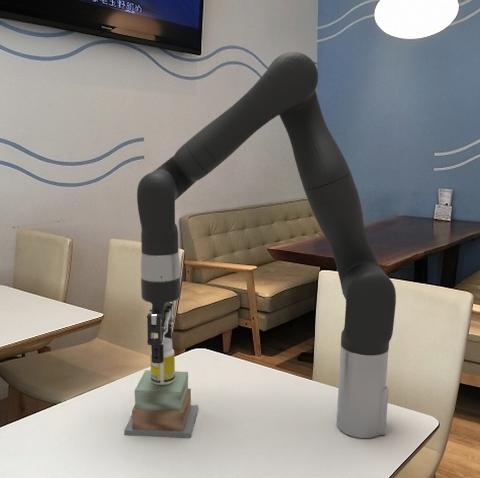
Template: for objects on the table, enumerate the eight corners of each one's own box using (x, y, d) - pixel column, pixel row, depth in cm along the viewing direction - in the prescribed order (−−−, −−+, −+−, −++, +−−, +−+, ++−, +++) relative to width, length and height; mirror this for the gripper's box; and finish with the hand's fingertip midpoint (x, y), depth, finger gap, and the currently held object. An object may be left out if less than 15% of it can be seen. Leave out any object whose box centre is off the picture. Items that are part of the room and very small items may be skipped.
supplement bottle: (175, 375, 112) (175, 336, 110) (174, 385, 107) (173, 345, 105) (152, 375, 111) (151, 336, 110) (149, 385, 107) (148, 345, 105)
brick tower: (190, 406, 115) (190, 370, 114) (183, 431, 106) (183, 393, 104) (144, 404, 116) (143, 369, 114) (132, 429, 106) (131, 391, 105)
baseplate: (198, 409, 116) (198, 405, 116) (190, 437, 105) (190, 433, 105) (138, 407, 117) (137, 402, 116) (124, 434, 106) (124, 430, 106)
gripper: (173, 285, 98) (174, 369, 101) (185, 266, 112) (186, 340, 115) (132, 284, 98) (134, 368, 101) (149, 265, 112) (151, 339, 115)
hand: (162, 353), depth 108 cm, fingers open, 8 cm apart
